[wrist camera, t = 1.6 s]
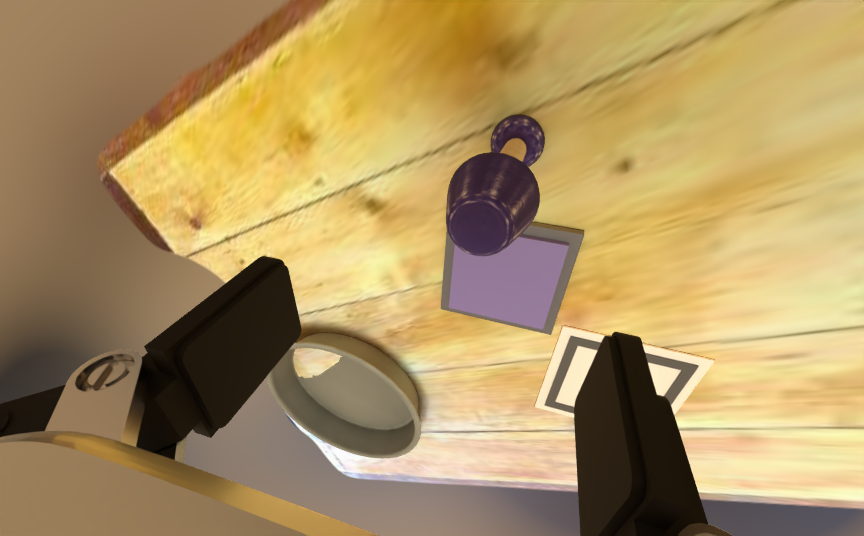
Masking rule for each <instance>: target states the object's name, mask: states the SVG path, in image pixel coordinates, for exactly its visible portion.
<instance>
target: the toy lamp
mask: <svg viewBox="0 0 864 536" xmlns="http://www.w3.org/2000/svg"><path fill="white" fill-rule="evenodd" d="M544 144H545V137H544V132H543V130H542V128H541V126H540V125H539V123H538V122H537V121H535V120H534V119H532V118H531V117H528V116H525V115H513V116H510V117H507V118H505V119H504V120H502V121H501V122H500V123H499V124H498V125H497V126H496V128H495V130H494V132H493V134H492V137H491V151H492V152H490V153H483V154H479V155H476V156H474V157H472V158H470V159H469V160H467V161H466V162H464V163H463V164H462V165H461V166H460V167H459V168H458V169H457V170H456V172H455V173H454V175H453V177H452V179H451V181H450V184H449V189H448V195H447V211H446V225H447V230H448V234H449V236H450V238H451V240H452V241H453V242H454V243H455V244H456V245H457V246H458V247H459V248H460V249H461V250H462V251H464V252H466V253H468V254H471V255H475V256H490V255H494V254H497V253H499V252H501V251H502V250H504V249H505V248H507V247H508V246H509V245H510V244H511V243H512V242H513V241H514V240H516V239H517V238H518V237H519V236H520V235H521V234H522V233H523V232H524V231H525V230H526V229H527V228H528V227H529V225H530V224H531V223H532V221H533V220H534V218H535V216H536V213H537V210H538V207H539V202H540V193H539V188H538V183H537V181H536V179H535V177H534V175H533V173H532V172H531V170H530V169H529V168H528V167H529V166H531V165H532V164H533V163H535V162H536V161H537V160H538V158H539V157H540V155H541V153H542V151H543V148H544Z"/></svg>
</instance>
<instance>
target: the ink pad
mask: <svg viewBox="0 0 864 536" xmlns="http://www.w3.org/2000/svg"><path fill="white" fill-rule="evenodd" d="M583 237H584V231H583V230H577V229H571V228H566V227H560V226H554V225H548V224H542V223H536V222H532V223H531V224H530V225H529V227H528V228H527V229H526V230H525V231H524V232H523V233H522V234H521V235H520V236H519V237H518V238H517V239H516V240H514V241H513V242H512V243H511V244H510V245H509V246H508V247H507V248H505V249H504V250H502V251H501V252H499V253H497V254H494V255H490V256H475V255H471V254H468V253H466V252H464V251H462V250H461V249H460V248H459V247H458V246H457V245H456V244H455V243H454V242H453V241H452V240H451V238H450V236H449V234H448V230H447V237H446V249H445V262H444V274H443V287H442V299H441V309H443V310H447V311H451V312H456V313H460V314H464V315H468V316H473V317H477V318H481V319H485V320H490V321H494V322H498V323H502V324H507V325H511V326H515V327H519V328H524V329H528V330H532V331H537V332H541V333H545V334H549V335H551V333H552V330H553V327H554V324H555V321H556V318H557V315H558V312H559V309H560V306H561V303H562V300H563V297H564V294H565V291H566V288H567V285H568V282H569V279H570V276H571V273H572V270H573V267H574V264H575V261H576V258H577V255H578V252H579V249H580V246H581V243H582V240H583Z"/></svg>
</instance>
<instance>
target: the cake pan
mask: <svg viewBox="0 0 864 536" xmlns="http://www.w3.org/2000/svg"><path fill="white" fill-rule="evenodd" d="M297 348H314V349H320V350H325V351H329V352H333V353H336V354H338V355H341V356H343V357H341V358H340V360H339V362H338V363H336V364H335V365H334V366H332V367H331V368H329V369H328V370H326V371H325V372H323V373H322V374H320V375H319V376H314V375H313V378H306V379H304V378H303V377H302V376H301V377H298V375H297V373H296V371H295V368H294V364H293V356H294V351H295V349H297ZM266 378H267V383H268V385H269V388H270V390H271V392H272V394H273V396H274V397H275V399H276V400H277V402H278V403H279V405H280V406H281V407H282V408H283V410H284V411H285V412H286V413H287V414H288V415H289V416H290V417H291V418H292V419H293V420H294V421H296V422H297V423H298V424H299V425H300V426H302V427H303V428H304V429H305V430H307V431H308V432H310V433H311V434H313V435H314V436H316V437H317V438H319V439H321V440H323V441H324V442H326V443H328V444H330V445H332V446H335V447H337V448H339V449H342V450H344V451H347V452H350V453H353V454H357V455H361V456H365V457H372V458H393V457H398V456H401V455H404V454H406V453H408V452H410V451H411V450H412V449H413V448H414V447H415V446H416V445H417V443H418V441H419V439H420V435H421V424H420V419H419V416H418V406H419V400H418V395H417V392H416V389H415V387H414V385H413V383H412V381H411V380H410V378H409V377H408V375H407V374H406V373H405V372H404V370H403V369H402V368H401V367H400V366H399V365H398V364H397V363H396V362H394V361H393V360H392V359H391V358H390V357H388V356H387V355H386V354H384V353H383V352H381V351H380V350H378V349H377V348H375V347H373V346H371V345H369V344H367V343H365V342H363V341H361V340H358V339H355V338H352V337H349V336H345V335H341V334H334V333H317V334H312V335H309V336H307V337H305V338H303V339H301V340H300V341H299V342H297V343H294V344H293V345H292V347H291V348H290V349H289V350H288V351H287V353H286V354H285V355H284V356H283V357H282V359H281V360H280V361H279V362H278V363H277V365H276V366H275V367H274V368H273V369H272V371H271V372H270V373H269V374H268V375H267V377H266Z"/></svg>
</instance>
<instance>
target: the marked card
mask: <svg viewBox="0 0 864 536" xmlns="http://www.w3.org/2000/svg"><path fill="white" fill-rule="evenodd" d="M604 336H609V335H605V334H600V333H596V332H591V331H587V330H583V329H578V328H574V327H569V326H565V325H563V327H562V330H561V333H560V335H559V338H558V341H557V344H556V347H555V350H554V352H553V355H552V358H551V361H550V364H549V367H548V369H547V372H546V375H545V378H544V381H543V383H542V386H541V389H540V392H539V395H538V398H537V400H536V403H535V407H537V408H541V409H545V410H548V411H552V412H555V413H559V414H562V415H566V416H570V417H573V418H574V405H575V400H576V397H577V395H578V393H579V390H580V388H581V386H582V384H583V382H584V379H585V377H586V375H587V373H588V371H589V368H590V366H591V364H592V362H593V359H594V357H595V355H596V353H597V351H598V348H599V346H600V344H601V342H602V340H603V338H604ZM642 344H643V347H644V351H645V354H646V358H647V361H648V365H649V368H650V372H651V376H652V379H653V383H654V386H655V390H656V393H657V395H661V396H664V397H666V398H667V399H668V400H669V402H670V405H671V407H672V410H673V413H674V415H675V413H676V412H677V411H678V409H679V408H680V407H681V405H682V404H683V403H684V401H685V400H686V399H687V397H688V396H689V395H690V393H691V392H692V391H693V389H694V388H695V387H696V385H697V384H698V383H699V381H700V380H701V379H702V377H703V376H704V375H705V373H706V372H707V371H708V369H709V368H710V367H711V365H712V364H713V363H714V361H715V360H714V359H710V358H706V357H701V356H697V355H692V354H688V353H684V352H679V351H675V350H671V349H666V348H662V347H657V346H653V345H649V344H644V343H642Z"/></svg>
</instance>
